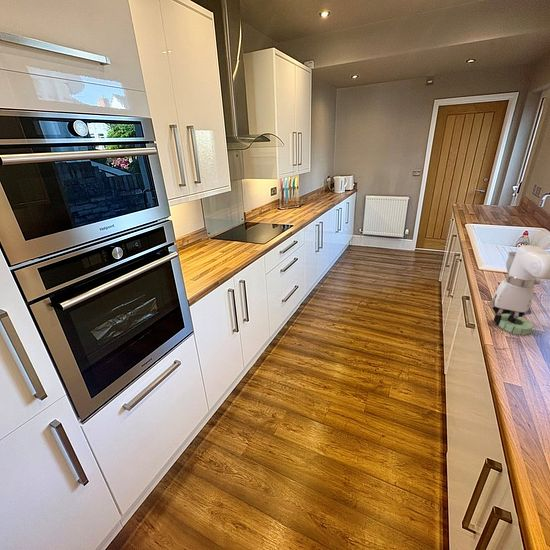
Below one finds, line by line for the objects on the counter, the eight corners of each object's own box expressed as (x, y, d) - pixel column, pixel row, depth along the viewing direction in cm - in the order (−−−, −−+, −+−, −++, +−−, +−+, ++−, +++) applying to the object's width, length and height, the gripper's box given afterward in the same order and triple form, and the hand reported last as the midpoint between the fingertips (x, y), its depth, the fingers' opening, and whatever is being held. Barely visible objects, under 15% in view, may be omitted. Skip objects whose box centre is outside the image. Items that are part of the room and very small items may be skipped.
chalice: (495, 292, 132) (508, 255, 124) (495, 286, 137) (508, 250, 129) (515, 296, 128) (530, 258, 120) (514, 290, 133) (528, 254, 125)
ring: (525, 323, 110) (528, 317, 109) (533, 337, 102) (536, 331, 101) (494, 317, 114) (496, 311, 113) (499, 330, 106) (502, 324, 105)
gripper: (545, 280, 101) (526, 324, 109) (490, 272, 107) (475, 314, 115) (553, 290, 95) (532, 335, 103) (493, 280, 101) (478, 324, 109)
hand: (502, 323), depth 109 cm, fingers closed on ring, 3 cm apart
